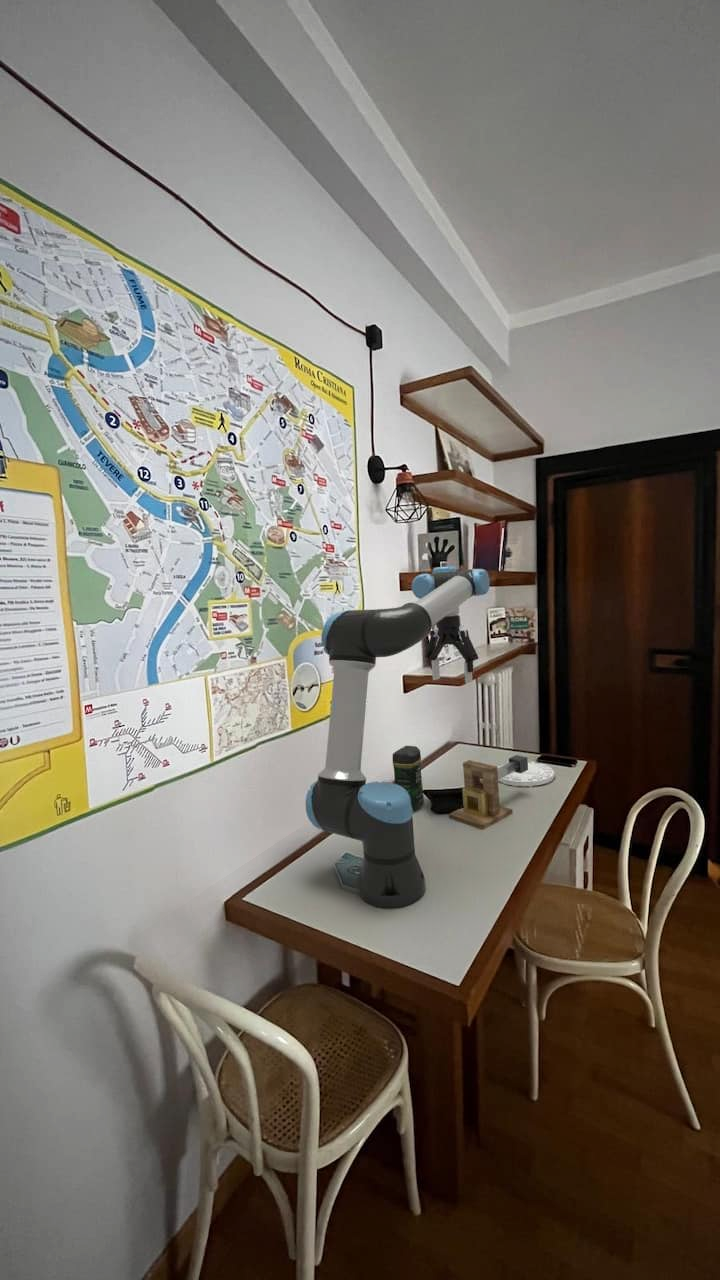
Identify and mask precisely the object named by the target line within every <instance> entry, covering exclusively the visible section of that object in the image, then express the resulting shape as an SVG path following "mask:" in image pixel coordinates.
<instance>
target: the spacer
mask: <svg viewBox="0 0 720 1280" xmlns="http://www.w3.org/2000/svg"><path fill="white" fill-rule="evenodd" d="M461 790H462V803H463V806H462V807H464V812H465V813H468V814H471V815H474V816H477V817H480V818H483V819H484V818H486V817H487V816H489V812H488V796H487V792H485V791H482V790H478V789H475V788H471V787H466V788H465V787H463V788H462V789H461ZM472 797H474V798H478V807H475V806H473V798H472Z"/></svg>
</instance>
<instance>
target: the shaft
mask: <svg viewBox="0 0 720 1280" xmlns="http://www.w3.org/2000/svg"><path fill="white" fill-rule="evenodd" d="M528 760H529V759H528V757H526V756H521V755H517V754H516V755H513V756H511V757H509V758H508V762H507V763H505V764H502V765H503V766H501V765H500V766H501V767H499V766H498V767H499V768H497V771H498V779H500V778H502V777H504V776H506V775H508V774H511V773H513V772H517V773H523V772H525V771H527V770H528V763H529V761H528ZM477 783H478V785H479V786H481V787H482V786H483V777H479V776H478V777H477Z"/></svg>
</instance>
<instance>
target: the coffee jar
mask: <svg viewBox="0 0 720 1280" xmlns="http://www.w3.org/2000/svg"><path fill="white" fill-rule="evenodd" d="M421 756H422V755H421V750H420V749H419V748H418V747H417V746H415V745H404V746H402V747H401V748H399V749H398V750H396V751H395V752H393V753H392V766H393V767H392V768H393V775H394V777H393V778H394V784H397V785H399V786H401V787H403V788H404V789H405V790H406V791H407V792H408V794H409V796H410V800H411V806H412V809H413V812H414V811H417V810H418V809H420V808H421V807H422V806H423V804H424V803H425V802H424V801H425V798H424V790H423V788H424V787H423V780H422V778H423V777H422V757H421Z"/></svg>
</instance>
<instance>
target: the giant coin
mask: <svg viewBox="0 0 720 1280" xmlns="http://www.w3.org/2000/svg"><path fill="white" fill-rule="evenodd" d="M503 765H504V764H502V765H499V766H497V768H499V767H501V766H503ZM555 777H556V776H555V771H554V770H553V768H552V767H550V766H548V765H547V764H545V763H536V762H535V761H530V762H528V770H527V771H525V772H523V773H517V772H513V773H511V774H508V775H506V776H504V777H502V778H500V779H498V783H499V782H500V784H503V785H509V786H511V785H512V786H511V787H516V786H517V787H516V788H519V787H520V786H521V787H525V786H533V787H534V786H540V785H546V784H549V783H550V782H553V780H554V778H555ZM518 786H519V787H518Z"/></svg>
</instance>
